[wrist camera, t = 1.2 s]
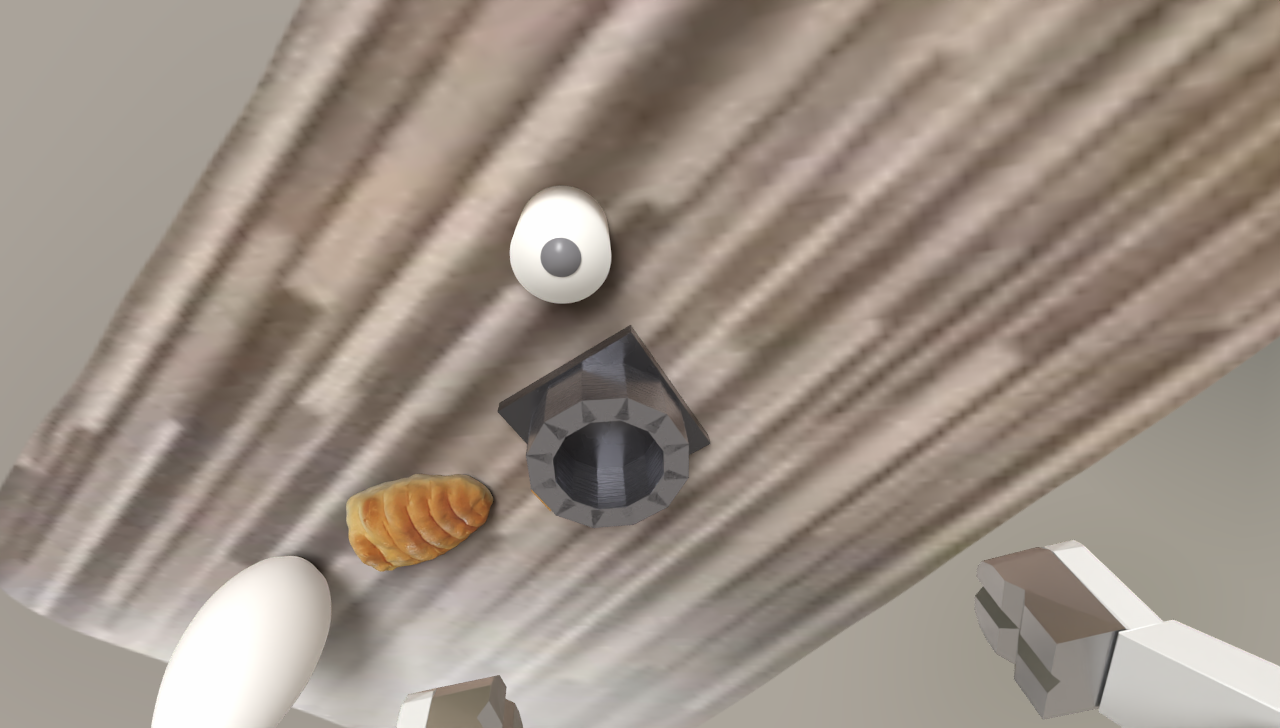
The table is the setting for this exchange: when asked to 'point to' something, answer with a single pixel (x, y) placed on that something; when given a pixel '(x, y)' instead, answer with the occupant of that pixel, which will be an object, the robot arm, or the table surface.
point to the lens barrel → (606, 435)
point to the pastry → (415, 518)
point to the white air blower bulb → (248, 649)
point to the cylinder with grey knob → (561, 245)
